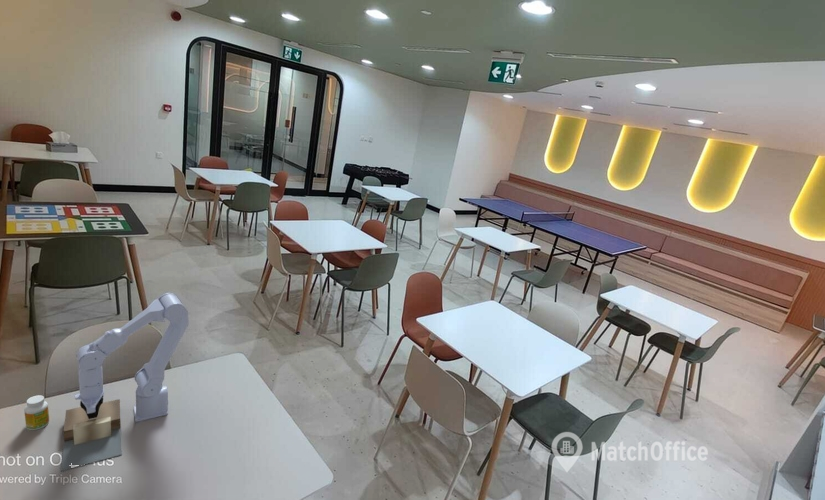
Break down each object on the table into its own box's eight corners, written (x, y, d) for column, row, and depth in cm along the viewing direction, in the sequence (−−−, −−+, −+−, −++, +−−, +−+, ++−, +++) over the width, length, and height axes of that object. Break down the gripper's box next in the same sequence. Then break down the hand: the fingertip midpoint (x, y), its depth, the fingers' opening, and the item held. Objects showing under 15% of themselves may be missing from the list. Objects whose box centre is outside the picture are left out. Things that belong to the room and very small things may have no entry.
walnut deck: (119, 408, 137) (119, 399, 136) (120, 428, 130) (120, 418, 129) (66, 420, 129) (66, 410, 127) (64, 441, 121) (63, 431, 120)
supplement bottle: (35, 432, 122) (32, 407, 119) (21, 427, 123) (18, 402, 120) (54, 421, 127) (51, 396, 124) (40, 416, 128) (37, 391, 125)
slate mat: (120, 428, 130) (120, 428, 129) (121, 455, 121) (121, 454, 121) (64, 442, 121) (64, 441, 121) (60, 471, 112) (60, 470, 112)
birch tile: (110, 416, 126) (110, 420, 124) (111, 431, 128) (111, 435, 126) (73, 424, 120) (73, 429, 119) (74, 440, 122) (74, 444, 121)
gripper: (75, 370, 125) (78, 405, 129) (72, 399, 114) (75, 436, 118) (103, 366, 129) (105, 400, 133) (103, 393, 119) (104, 429, 123)
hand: (92, 416), depth 126 cm, fingers closed
